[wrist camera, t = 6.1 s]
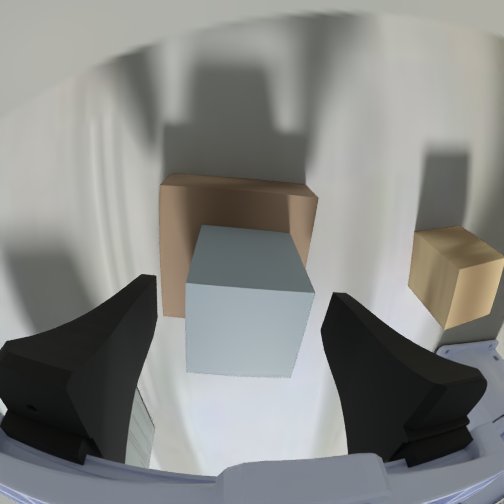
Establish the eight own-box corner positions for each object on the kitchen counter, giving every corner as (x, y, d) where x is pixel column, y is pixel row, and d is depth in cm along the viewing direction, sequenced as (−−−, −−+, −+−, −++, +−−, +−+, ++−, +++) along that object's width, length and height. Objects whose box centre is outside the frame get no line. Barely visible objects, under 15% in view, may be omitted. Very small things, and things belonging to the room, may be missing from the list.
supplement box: (63, 374, 21) (15, 493, 10) (138, 384, 22) (107, 526, 10) (90, 421, 24) (62, 523, 13) (157, 430, 25) (142, 544, 13)
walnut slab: (304, 183, 16) (318, 198, 13) (285, 293, 19) (293, 324, 16) (172, 172, 15) (159, 185, 13) (172, 286, 18) (163, 315, 16)
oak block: (459, 225, 17) (505, 257, 13) (450, 275, 19) (489, 314, 14) (413, 231, 17) (459, 269, 13) (407, 285, 19) (444, 330, 14)
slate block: (289, 233, 14) (314, 292, 9) (276, 305, 16) (290, 377, 11) (201, 224, 14) (185, 282, 9) (198, 299, 15) (186, 372, 11)
